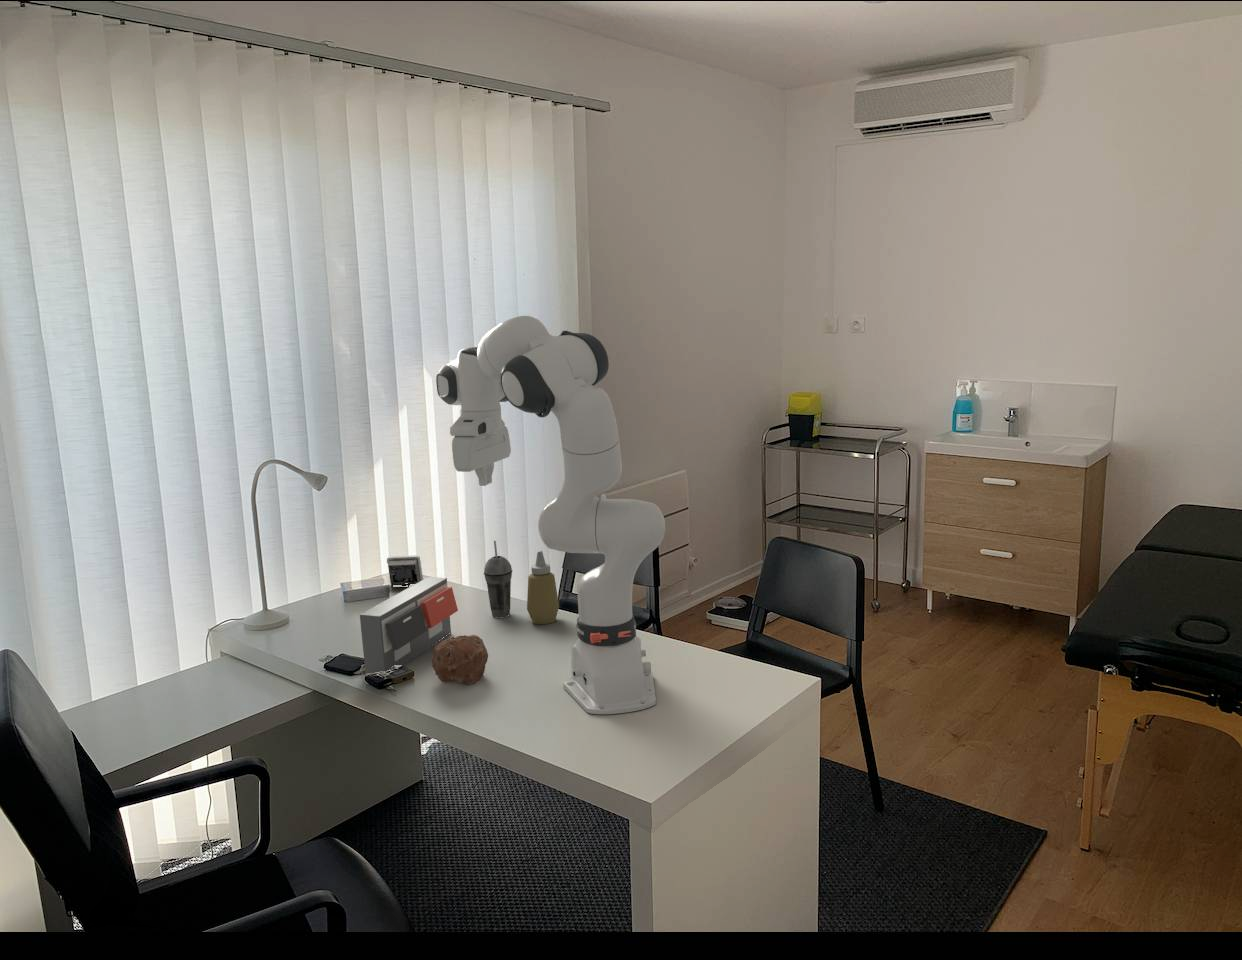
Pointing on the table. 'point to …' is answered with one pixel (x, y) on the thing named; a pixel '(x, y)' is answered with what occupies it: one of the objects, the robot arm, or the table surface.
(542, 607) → the squeeze bottle
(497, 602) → the beverage cup
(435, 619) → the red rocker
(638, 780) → the table surface
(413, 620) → the panel
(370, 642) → the switch panel
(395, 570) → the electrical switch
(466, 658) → the decorative rock
